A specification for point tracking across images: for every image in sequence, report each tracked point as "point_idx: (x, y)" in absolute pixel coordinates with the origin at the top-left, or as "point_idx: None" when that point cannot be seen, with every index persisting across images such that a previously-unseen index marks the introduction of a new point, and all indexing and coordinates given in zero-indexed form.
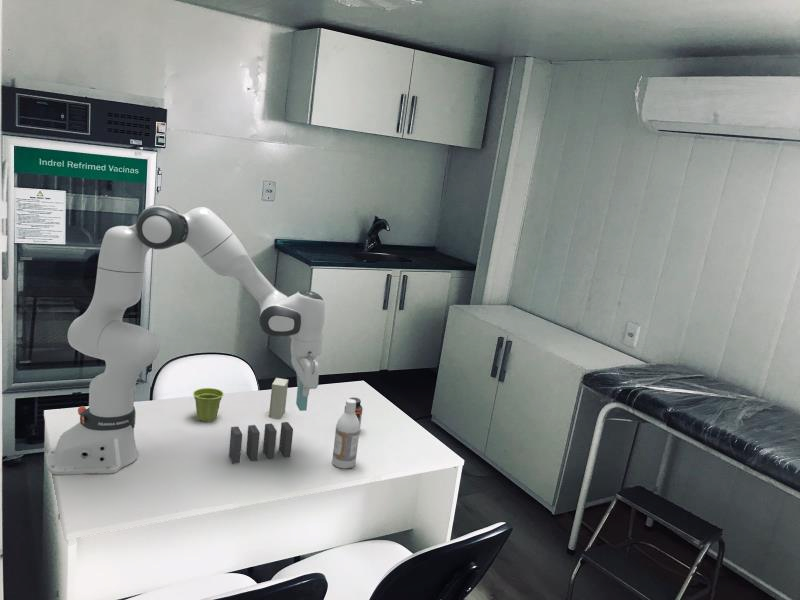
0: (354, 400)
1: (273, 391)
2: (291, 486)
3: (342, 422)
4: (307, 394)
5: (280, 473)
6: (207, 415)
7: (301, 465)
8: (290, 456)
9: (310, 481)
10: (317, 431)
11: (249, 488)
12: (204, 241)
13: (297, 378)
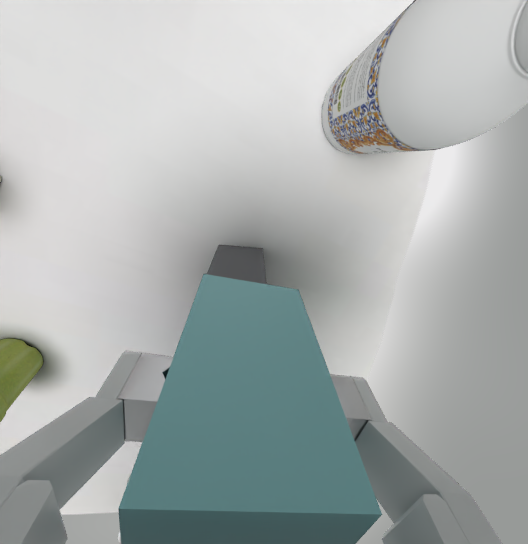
0: None
1: None
2: (382, 294)
3: (487, 128)
4: (363, 392)
5: (324, 295)
6: (31, 373)
7: (312, 239)
8: (262, 249)
9: (387, 250)
10: (109, 81)
11: (347, 358)
12: None
13: (97, 467)
